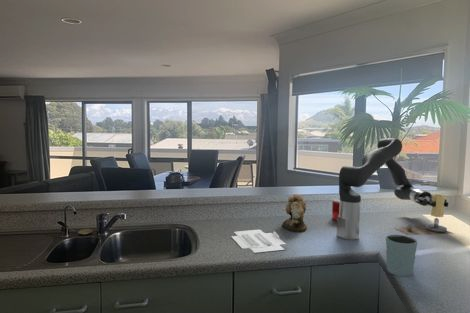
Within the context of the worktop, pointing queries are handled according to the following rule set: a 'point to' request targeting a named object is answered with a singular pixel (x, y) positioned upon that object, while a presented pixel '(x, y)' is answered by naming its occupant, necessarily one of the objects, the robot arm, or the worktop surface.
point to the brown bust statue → (295, 214)
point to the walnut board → (417, 230)
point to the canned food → (335, 209)
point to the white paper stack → (258, 240)
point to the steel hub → (436, 227)
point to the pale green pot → (400, 254)
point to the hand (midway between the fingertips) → (441, 204)
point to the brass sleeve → (438, 205)
